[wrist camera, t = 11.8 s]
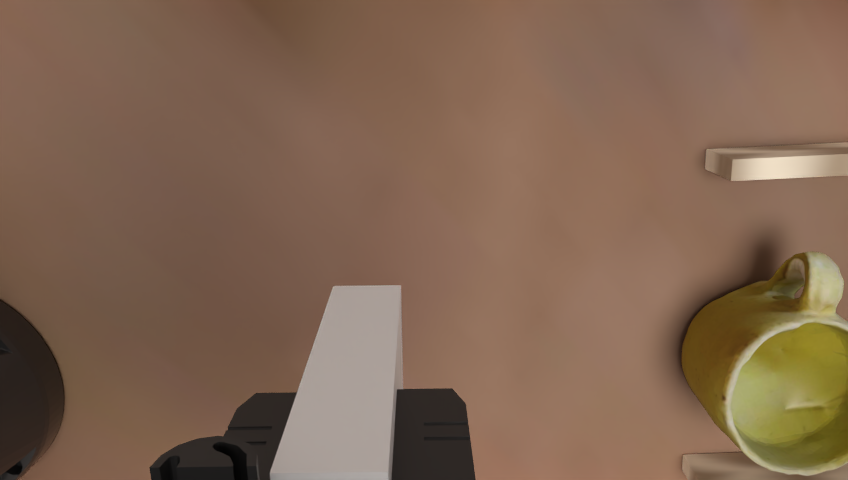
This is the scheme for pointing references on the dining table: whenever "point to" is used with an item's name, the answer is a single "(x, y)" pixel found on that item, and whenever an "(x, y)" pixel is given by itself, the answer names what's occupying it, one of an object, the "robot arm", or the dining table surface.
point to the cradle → (735, 472)
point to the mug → (777, 367)
